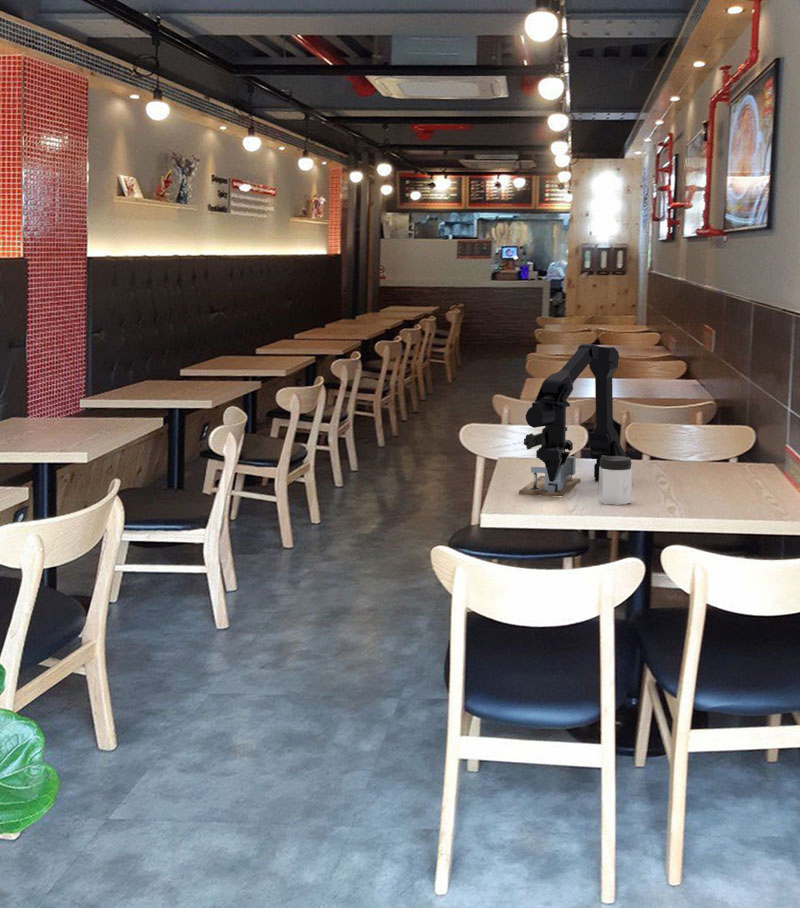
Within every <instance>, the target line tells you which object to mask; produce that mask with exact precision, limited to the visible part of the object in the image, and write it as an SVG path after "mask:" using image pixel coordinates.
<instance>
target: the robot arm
mask: <svg viewBox="0 0 800 908" xmlns="http://www.w3.org/2000/svg"><path fill="white" fill-rule="evenodd" d="M619 360H620V354H619V351H618V350H617V349H616V347H614V346H599V345H596V344H591V343H582V344H580V345H578V347H577V350H576V351H575V353H574V354H573V355H572V356H571V357H570V358H569V360H568V361H567V362H565V364H564V365H563V366H562V367H561V369H560V370H559V371H558V372H557V371H556V372H555V373H552V374H550V375H549V376H548V377H546V378H545V379H544V380H543V381H542V383H541V386H540V388H539V391H538V393H537V395H536V398H535V399H534V401H533V402H531V407H529V408H528V409H527V411H526V413H525V421H526V423H527V425H528V426H530V428H534V429H535V428H541V427H542V429H541V432H540V433H537V434H533V433H529V434H526V435H525V438H524V439H523V445H524V446H526V449H527V450H531V449H533V448H535V447H539V446H541V447H539V448H538V449H537V450H536V452H535V453H536V455H535V458H536V459H539V460H540V461H541V462H542V463H544V466H545V465H546V469H547V473H548V477H549V481H550V482H553V481H554V479H555V477H556V474H557V471H558V468H559V466H560V464H564V465H565V463H566V461H567V459H568V456H570V454H571V451H573V444H574V443H573V442H572V441H571V439H566V433H567V431H568V426H567V422H566V421H567V408H569V407H571V403H570V402H569V401H568V400H567V399H568V398H569V397H570V396H571V394H572V392H573V390H574V382H576V380H577V379H578V377H580V375H581V374H582V373H583V371H584V370H585V369H586V368H587V367H588V366H589V367H588V368H589V370H590V371H591V373H592V375H593V376H594V378H595V379H594V384H595V385H594V386H595V387H594V391H595V393H594V394H595V395H594V397H595V400H594V401H595V427H594V429H593V430H592V432H589V434H588V438H589V439H588V441H589V443H588V447H589V451H590V457H591V459H592V460H596V463H594V467H593V468H594V470H593V471H594V472H593V473H594V474H593V478H594V481H595V482H599V467H600V460H601V457H604V456H624V457H626V452H625V450H624V449H623V447H622V445H621V443H620V436H619V433H618V432H617V430H616V428H615V427H614V420H613V419H614V416H613V415H614V414H613V413H614V410H613V408H614V406H613V401H614V400H613V397H614V396H613V394H614V393H613V377H614V375H615V373H616V371H618V370H617V369H618V367H619ZM566 450H568V451H566Z"/></svg>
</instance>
